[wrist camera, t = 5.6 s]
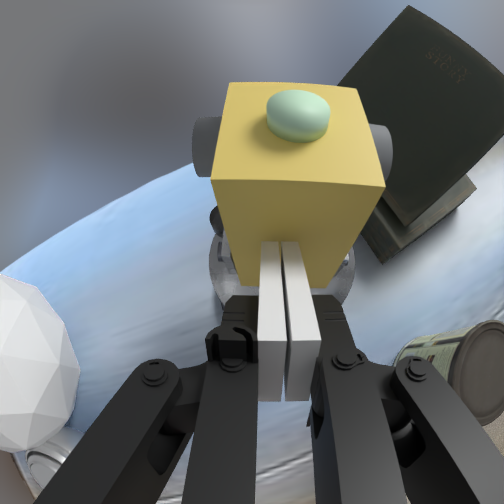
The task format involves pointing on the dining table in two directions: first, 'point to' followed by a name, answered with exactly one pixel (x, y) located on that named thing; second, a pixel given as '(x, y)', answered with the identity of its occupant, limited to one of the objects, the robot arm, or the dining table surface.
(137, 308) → the dining table surface
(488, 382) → the coffee can
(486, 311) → the dining table surface
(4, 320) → the lamp
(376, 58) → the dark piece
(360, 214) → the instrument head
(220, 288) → the stand
